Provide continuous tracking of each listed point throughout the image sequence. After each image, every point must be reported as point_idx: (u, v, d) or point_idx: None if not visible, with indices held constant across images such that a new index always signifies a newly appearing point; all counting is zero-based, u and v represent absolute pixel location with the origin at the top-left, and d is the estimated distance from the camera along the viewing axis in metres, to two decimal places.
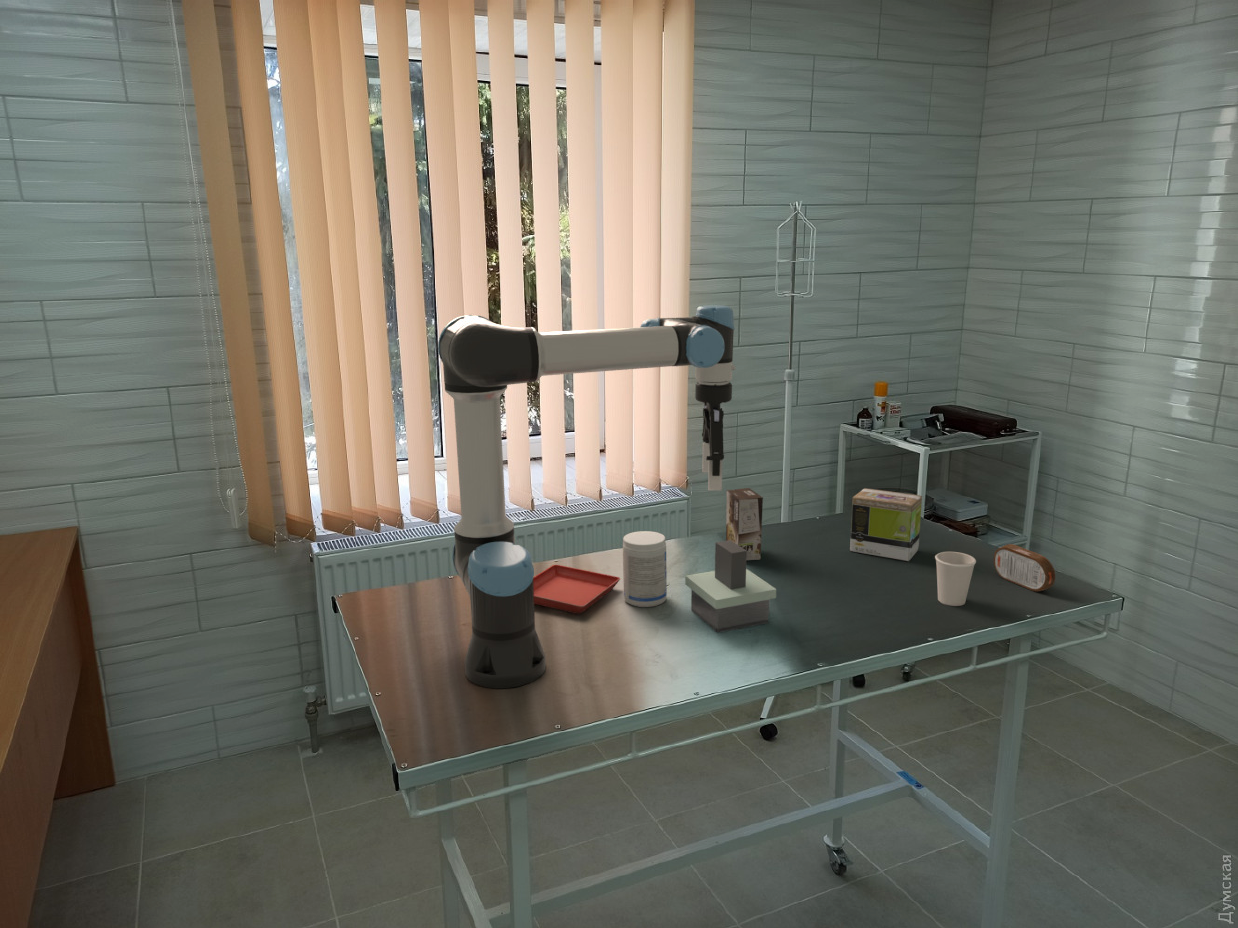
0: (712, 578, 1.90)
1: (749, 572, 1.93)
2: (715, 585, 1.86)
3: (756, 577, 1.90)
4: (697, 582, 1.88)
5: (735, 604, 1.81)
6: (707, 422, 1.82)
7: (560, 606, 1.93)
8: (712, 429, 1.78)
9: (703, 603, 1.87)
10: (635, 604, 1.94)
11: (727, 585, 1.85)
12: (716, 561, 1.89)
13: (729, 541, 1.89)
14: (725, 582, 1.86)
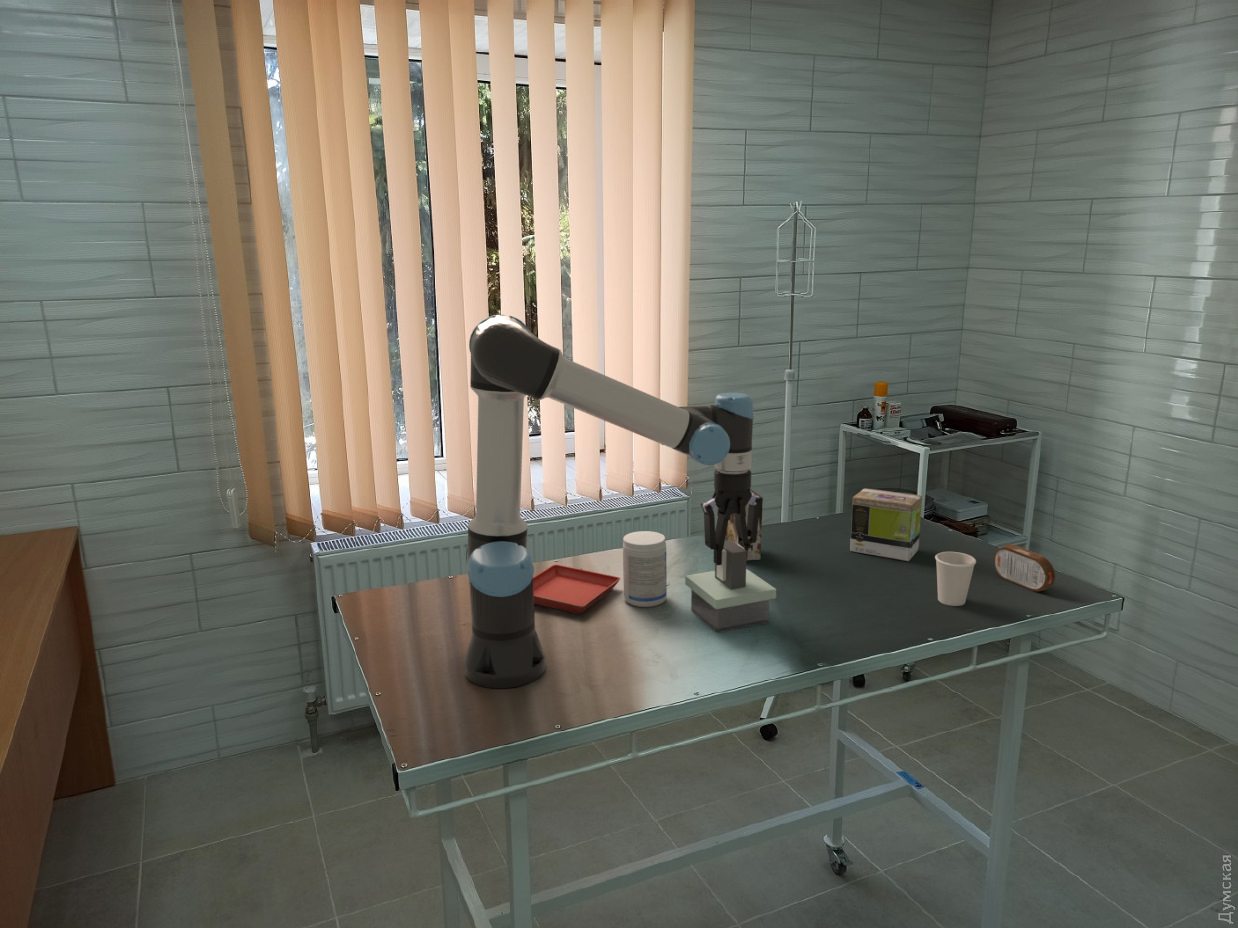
0: (712, 578, 1.90)
1: (749, 572, 1.93)
2: (715, 585, 1.86)
3: (756, 577, 1.90)
4: (697, 582, 1.88)
5: (735, 604, 1.81)
6: (718, 509, 1.84)
7: (560, 606, 1.93)
8: (704, 519, 1.83)
9: (703, 603, 1.87)
10: (635, 604, 1.94)
11: (727, 585, 1.85)
12: None
13: (729, 541, 1.89)
14: (725, 582, 1.86)
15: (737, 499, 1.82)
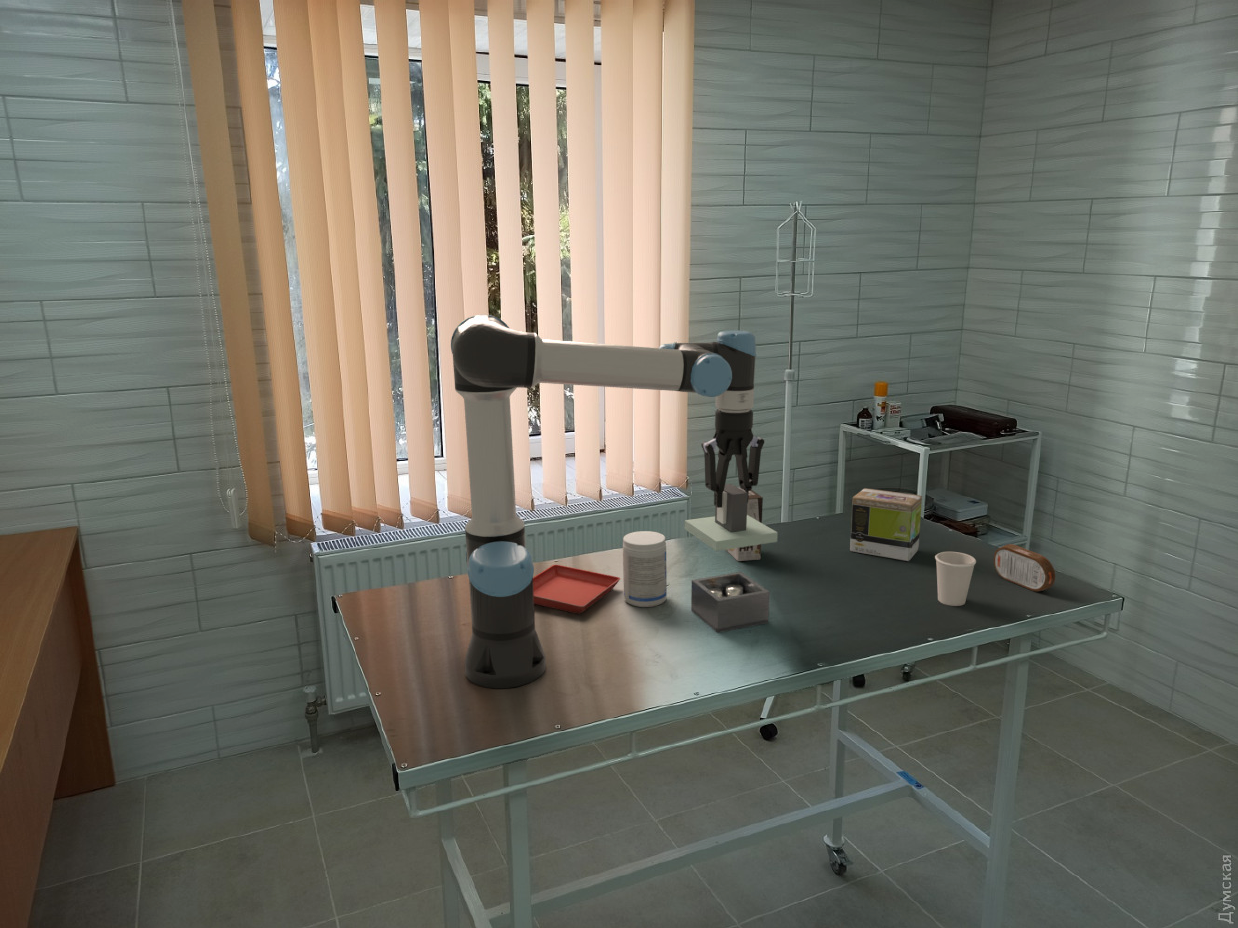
0: (712, 522, 1.87)
1: (750, 518, 1.90)
2: (715, 528, 1.83)
3: (757, 522, 1.87)
4: (697, 526, 1.84)
5: (735, 546, 1.78)
6: (719, 450, 1.81)
7: (560, 606, 1.93)
8: (705, 460, 1.79)
9: (703, 603, 1.87)
10: (635, 604, 1.94)
11: (727, 528, 1.82)
12: None
13: (730, 485, 1.85)
14: (725, 525, 1.83)
15: (739, 440, 1.79)
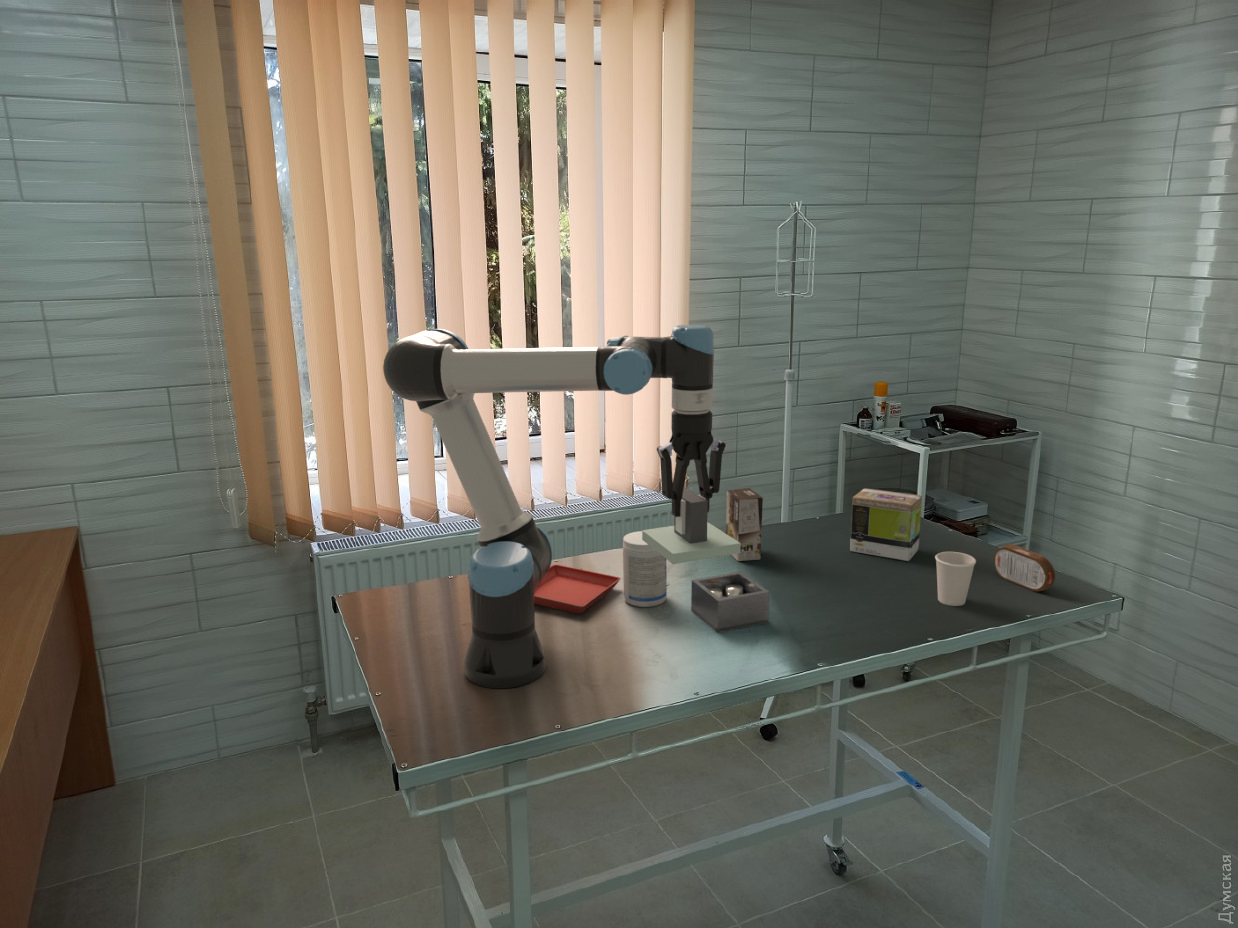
0: (671, 533, 1.73)
1: (713, 527, 1.76)
2: (673, 539, 1.69)
3: (719, 532, 1.73)
4: (654, 536, 1.71)
5: (694, 559, 1.64)
6: (677, 455, 1.67)
7: (560, 606, 1.93)
8: (661, 466, 1.66)
9: (703, 603, 1.87)
10: (635, 604, 1.94)
11: (686, 539, 1.68)
12: None
13: (690, 492, 1.72)
14: (684, 536, 1.69)
15: (697, 444, 1.65)
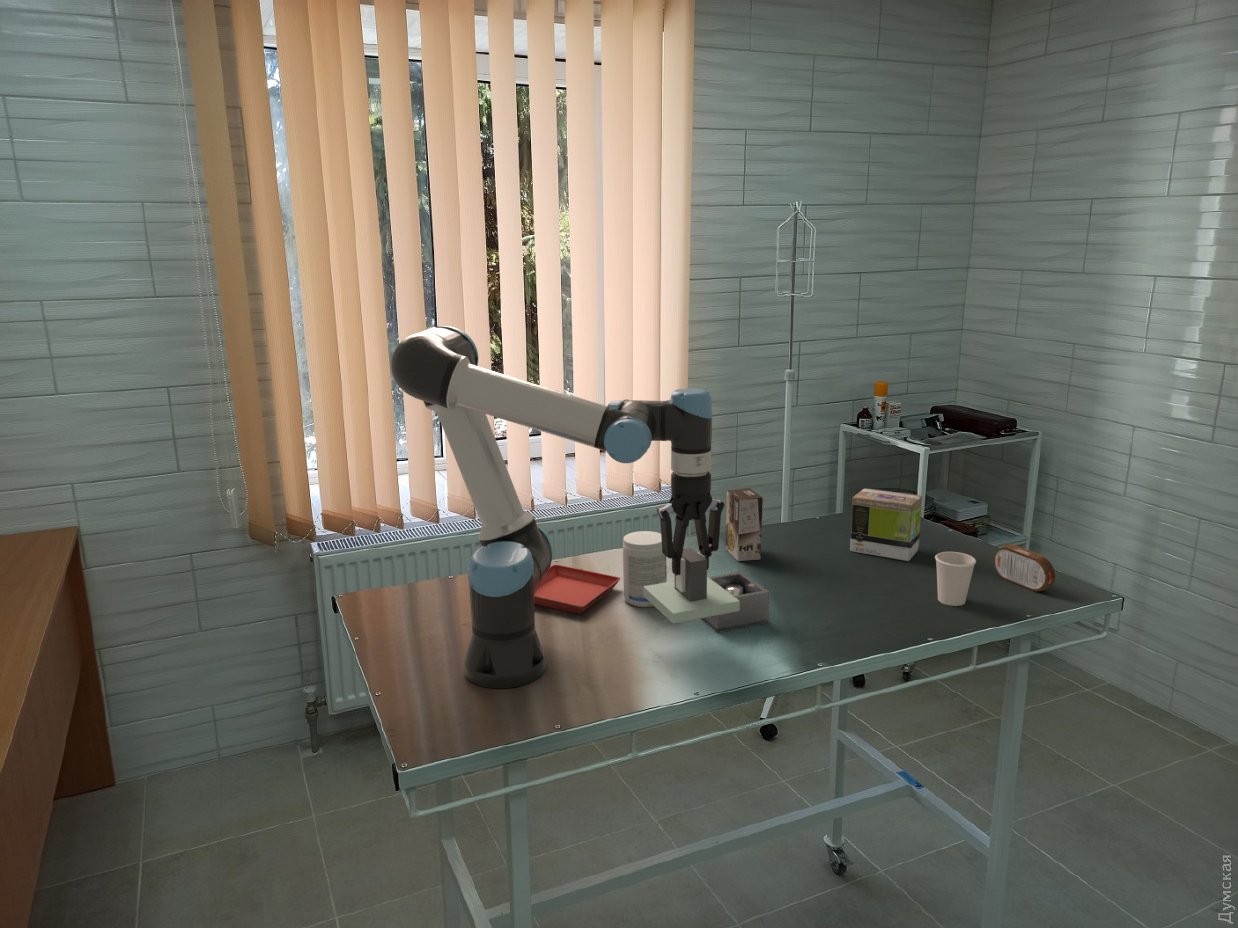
0: (671, 589, 1.76)
1: (712, 582, 1.79)
2: (674, 596, 1.72)
3: (719, 588, 1.76)
4: (655, 593, 1.74)
5: (694, 618, 1.67)
6: (676, 514, 1.70)
7: (560, 606, 1.93)
8: (661, 526, 1.69)
9: None
10: (635, 604, 1.94)
11: (687, 597, 1.71)
12: None
13: (689, 549, 1.75)
14: (685, 593, 1.72)
15: (696, 504, 1.68)
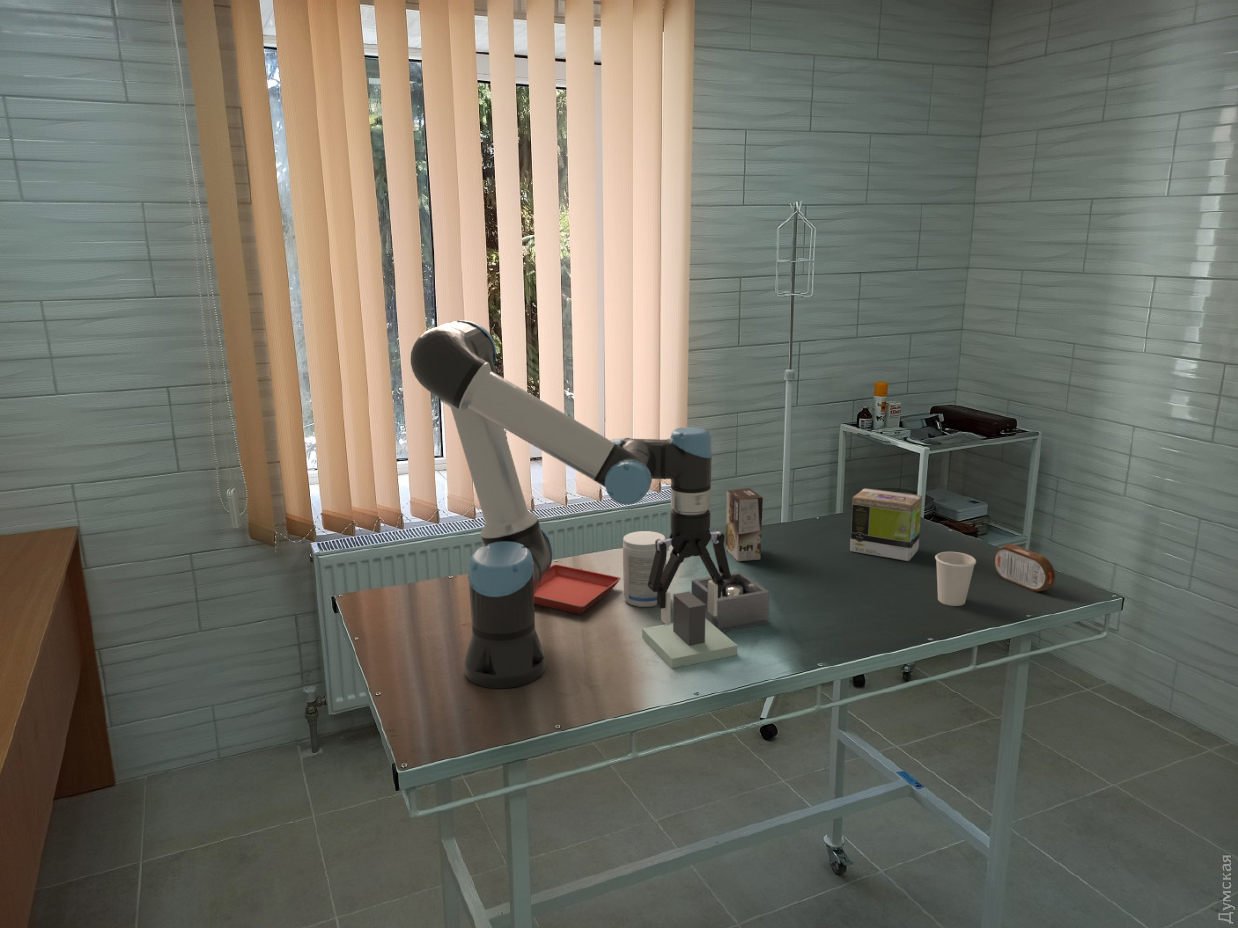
0: (670, 632, 1.78)
1: (710, 625, 1.81)
2: (672, 640, 1.75)
3: (717, 631, 1.79)
4: (654, 637, 1.76)
5: (693, 662, 1.69)
6: (673, 549, 1.72)
7: (560, 606, 1.93)
8: (654, 558, 1.70)
9: None
10: (635, 604, 1.94)
11: (685, 641, 1.74)
12: (674, 614, 1.77)
13: (688, 593, 1.77)
14: (683, 637, 1.74)
15: (696, 542, 1.70)
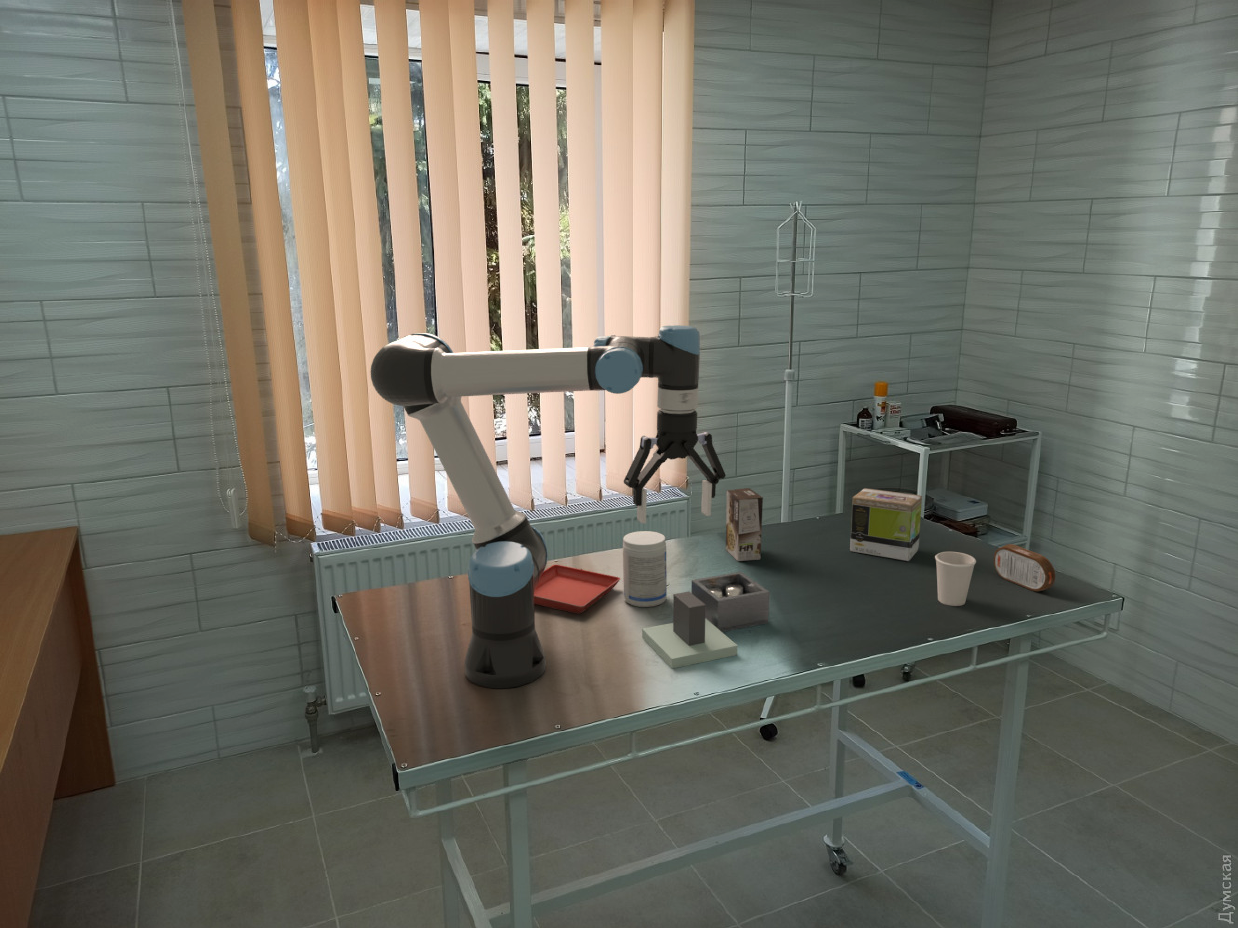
0: (670, 632, 1.78)
1: (710, 625, 1.81)
2: (672, 640, 1.75)
3: (717, 631, 1.79)
4: (654, 637, 1.76)
5: (693, 662, 1.69)
6: (657, 449, 1.69)
7: (560, 606, 1.93)
8: (636, 454, 1.67)
9: None
10: (635, 604, 1.94)
11: (685, 641, 1.74)
12: (674, 614, 1.77)
13: (688, 593, 1.77)
14: (683, 637, 1.74)
15: (682, 444, 1.67)
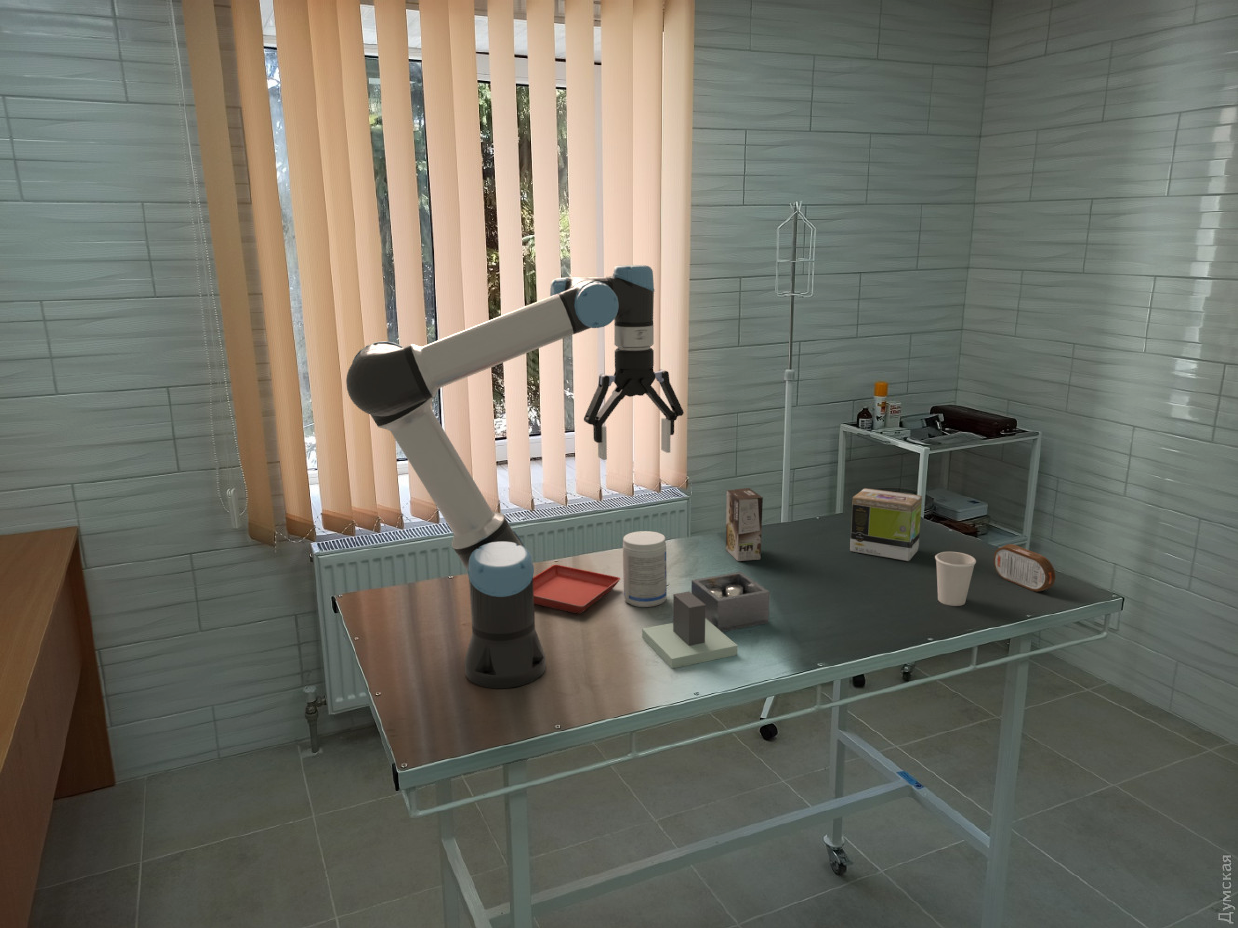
0: (670, 632, 1.78)
1: (710, 625, 1.81)
2: (672, 640, 1.75)
3: (717, 631, 1.79)
4: (654, 637, 1.76)
5: (693, 662, 1.69)
6: (616, 388, 1.73)
7: (560, 606, 1.93)
8: (595, 392, 1.71)
9: None
10: (635, 604, 1.94)
11: (685, 641, 1.74)
12: (674, 614, 1.77)
13: (688, 593, 1.77)
14: (683, 637, 1.74)
15: (639, 382, 1.72)
